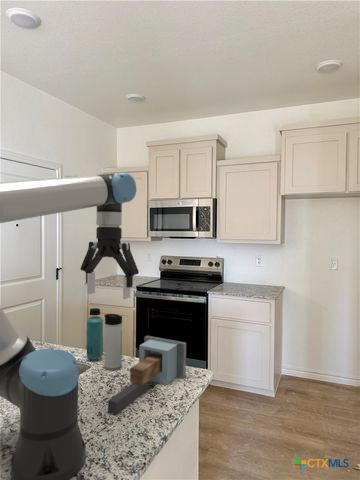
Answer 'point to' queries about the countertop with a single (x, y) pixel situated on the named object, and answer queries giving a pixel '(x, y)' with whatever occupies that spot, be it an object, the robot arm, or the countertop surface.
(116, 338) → the travel mug
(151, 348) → the socket block
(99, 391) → the countertop surface
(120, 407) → the rail
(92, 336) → the teal cylinder
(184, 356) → the wall
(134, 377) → the brown block
